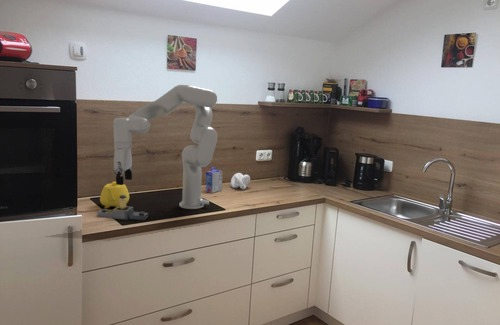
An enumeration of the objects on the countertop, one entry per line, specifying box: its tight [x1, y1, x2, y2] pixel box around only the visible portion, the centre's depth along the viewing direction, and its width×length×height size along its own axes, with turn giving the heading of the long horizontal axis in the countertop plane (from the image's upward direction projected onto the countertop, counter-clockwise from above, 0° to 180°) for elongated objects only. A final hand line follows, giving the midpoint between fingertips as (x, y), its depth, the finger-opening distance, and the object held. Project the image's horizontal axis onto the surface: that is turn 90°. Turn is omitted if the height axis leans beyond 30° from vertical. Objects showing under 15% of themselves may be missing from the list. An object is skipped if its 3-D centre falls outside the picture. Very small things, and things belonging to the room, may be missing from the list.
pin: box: [120, 195, 127, 210], centre depth 192 cm, size 3×3×10 cm
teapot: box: [99, 181, 130, 209], centre depth 207 cm, size 13×20×12 cm
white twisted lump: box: [230, 172, 251, 191], centre depth 258 cm, size 11×12×9 cm
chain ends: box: [96, 205, 149, 221], centre depth 193 cm, size 22×7×4 cm, turn 84°
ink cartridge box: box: [205, 166, 223, 194], centre depth 248 cm, size 10×6×14 cm, turn 148°
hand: (124, 182), depth 191 cm, fingers open, 9 cm apart
